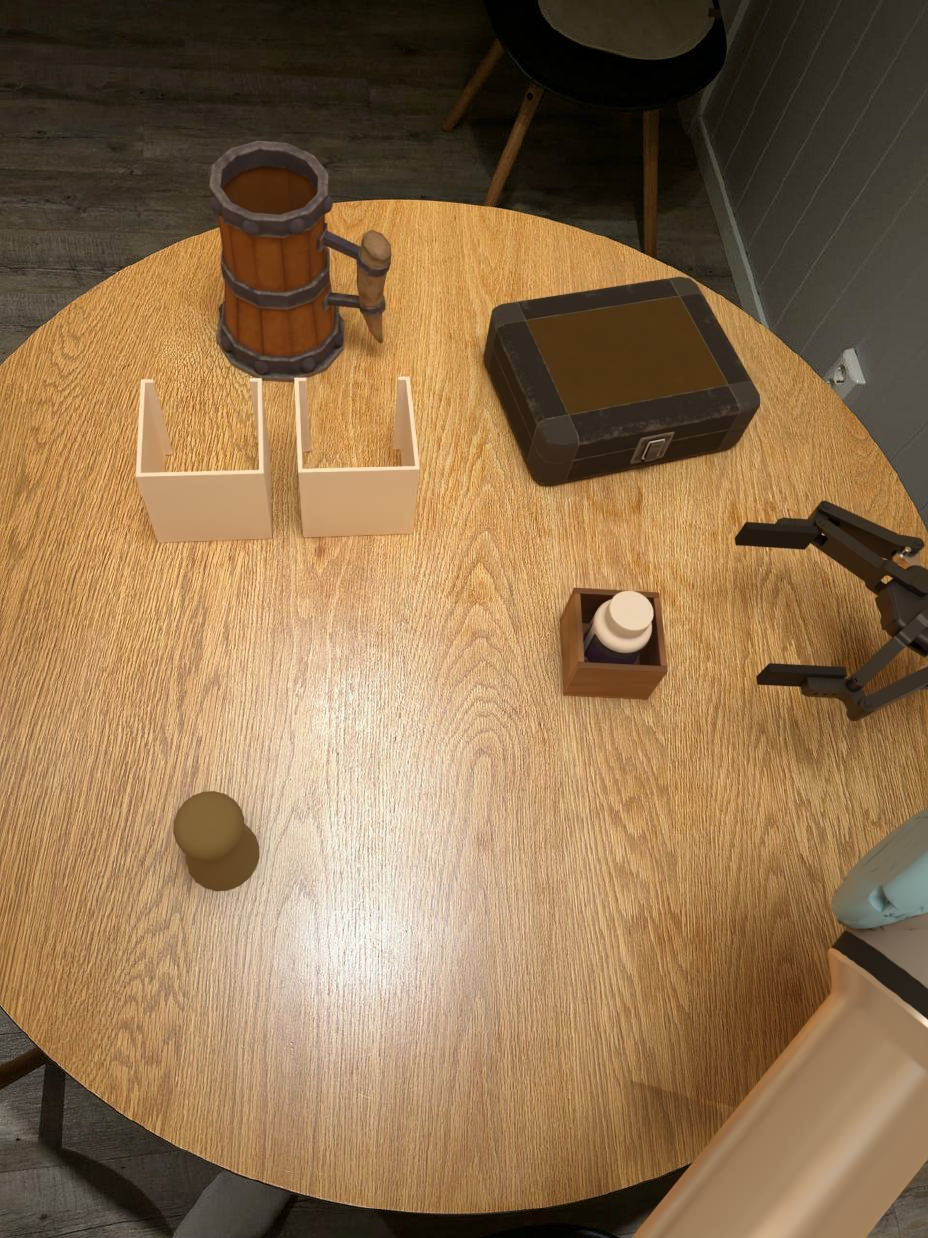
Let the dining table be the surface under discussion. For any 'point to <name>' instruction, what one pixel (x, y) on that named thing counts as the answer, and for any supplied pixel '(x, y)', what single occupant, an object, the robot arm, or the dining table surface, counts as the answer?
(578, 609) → the wooden box
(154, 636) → the dining table surface
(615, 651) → the pill bottle
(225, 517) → the beige u-shaped pieces
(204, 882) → the cork
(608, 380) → the cash box
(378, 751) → the dining table surface
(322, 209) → the mug
